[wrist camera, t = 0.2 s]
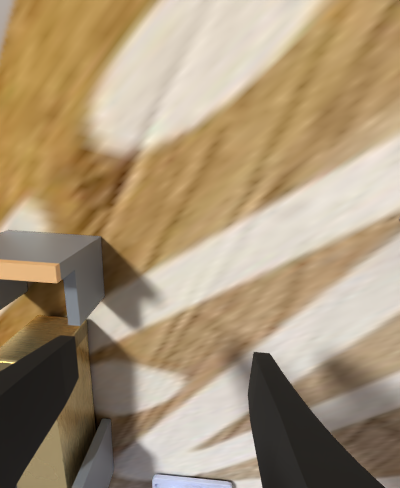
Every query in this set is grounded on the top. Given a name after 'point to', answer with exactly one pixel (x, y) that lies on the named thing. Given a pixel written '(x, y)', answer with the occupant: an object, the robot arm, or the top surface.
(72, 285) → the socket
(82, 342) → the tan rectangular post
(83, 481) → the sleeve
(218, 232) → the top surface
